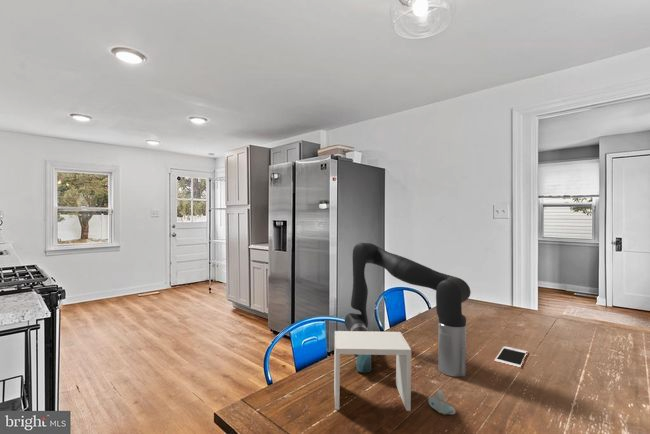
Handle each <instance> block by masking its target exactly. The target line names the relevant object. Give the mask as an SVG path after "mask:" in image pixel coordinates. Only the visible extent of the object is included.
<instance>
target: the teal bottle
mask: <svg viewBox="0 0 650 434" xmlns="http://www.w3.org/2000/svg"><path fill="white" fill-rule="evenodd" d="M355 361H356V365H355V366H356V371H357V372H360V373H363V374H364V373H365V374H367V373H370V372H371V371H372V356H371V355H358V356H357V357H356V359H355Z"/></svg>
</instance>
